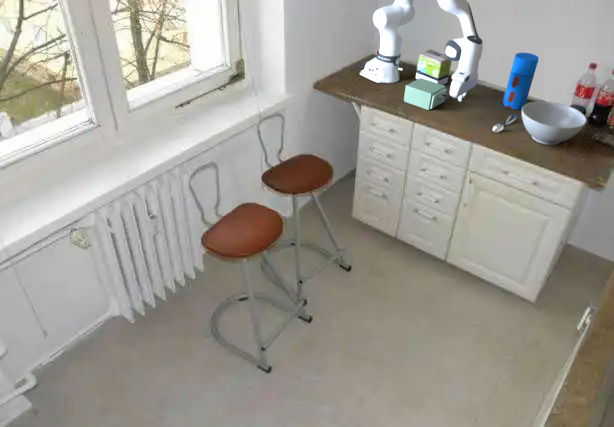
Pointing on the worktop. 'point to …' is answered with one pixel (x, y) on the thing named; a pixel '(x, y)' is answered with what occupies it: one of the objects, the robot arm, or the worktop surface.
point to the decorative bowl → (552, 121)
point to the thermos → (520, 80)
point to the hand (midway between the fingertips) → (460, 100)
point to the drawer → (439, 98)
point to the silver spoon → (501, 126)
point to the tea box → (433, 67)
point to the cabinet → (421, 92)
